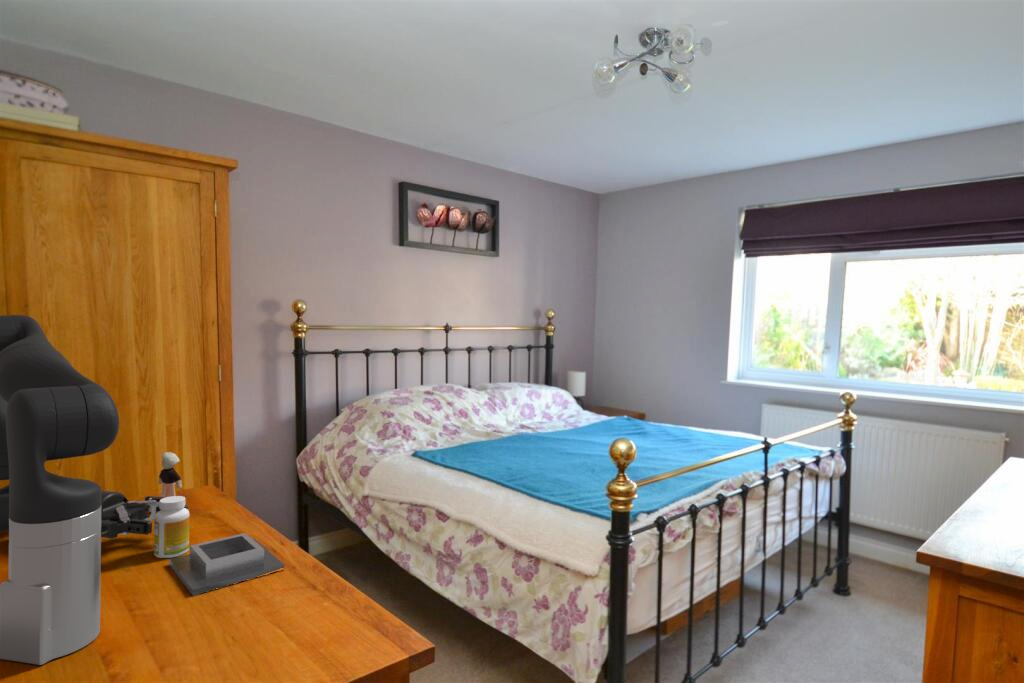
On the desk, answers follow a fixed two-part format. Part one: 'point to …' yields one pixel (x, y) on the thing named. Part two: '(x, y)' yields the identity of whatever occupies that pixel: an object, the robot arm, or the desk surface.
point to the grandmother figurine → (169, 475)
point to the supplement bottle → (171, 528)
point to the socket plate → (223, 563)
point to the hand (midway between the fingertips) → (169, 519)
